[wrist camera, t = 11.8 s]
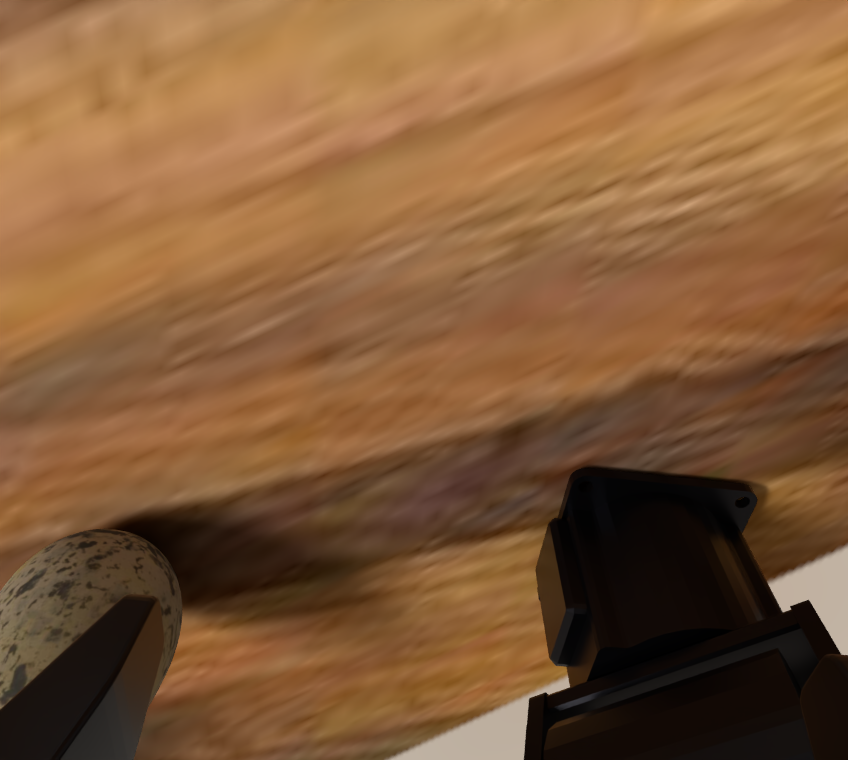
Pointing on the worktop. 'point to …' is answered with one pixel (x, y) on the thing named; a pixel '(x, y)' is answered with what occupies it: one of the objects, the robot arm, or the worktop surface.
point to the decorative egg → (79, 600)
